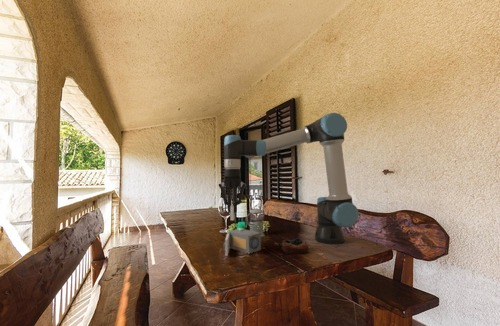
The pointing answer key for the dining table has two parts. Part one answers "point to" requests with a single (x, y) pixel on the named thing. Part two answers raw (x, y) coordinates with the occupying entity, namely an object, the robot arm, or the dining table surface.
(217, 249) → the dining table surface
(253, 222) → the french press
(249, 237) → the camera block
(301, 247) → the pastry
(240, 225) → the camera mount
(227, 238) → the side door
